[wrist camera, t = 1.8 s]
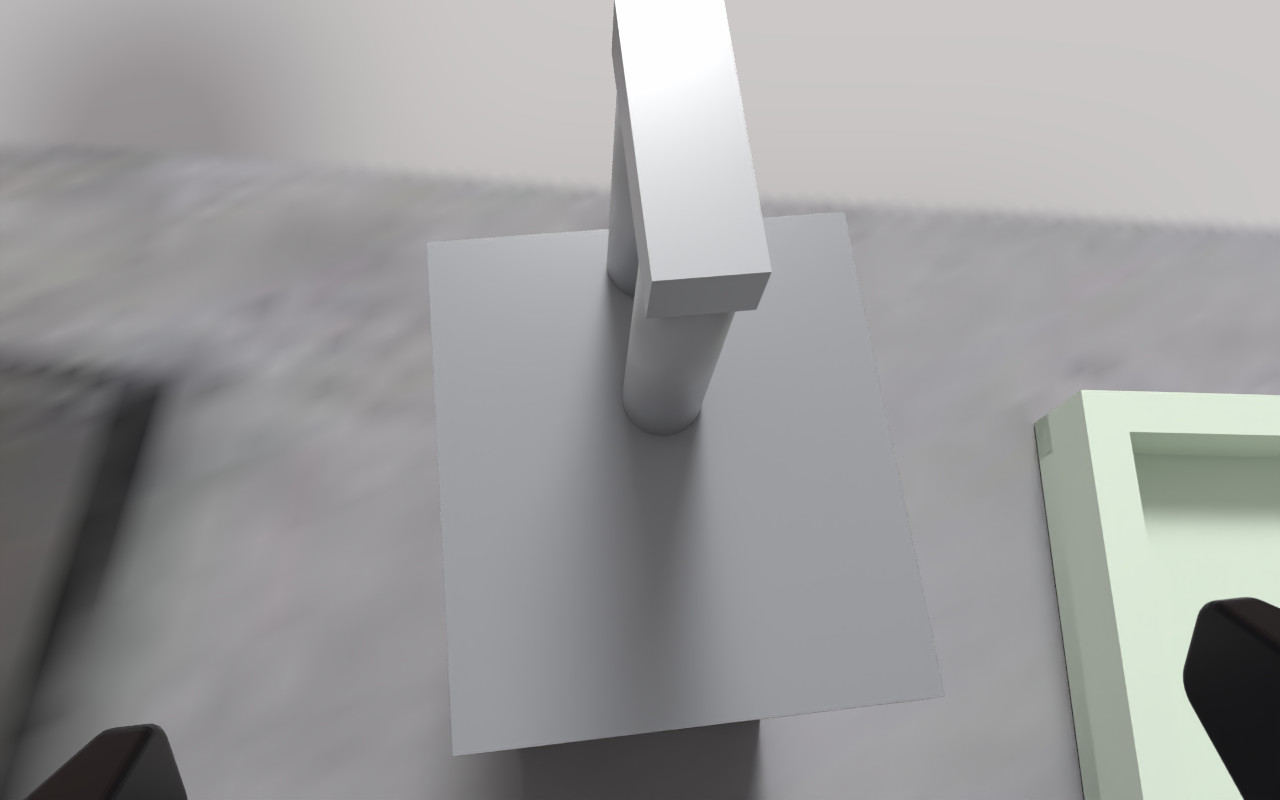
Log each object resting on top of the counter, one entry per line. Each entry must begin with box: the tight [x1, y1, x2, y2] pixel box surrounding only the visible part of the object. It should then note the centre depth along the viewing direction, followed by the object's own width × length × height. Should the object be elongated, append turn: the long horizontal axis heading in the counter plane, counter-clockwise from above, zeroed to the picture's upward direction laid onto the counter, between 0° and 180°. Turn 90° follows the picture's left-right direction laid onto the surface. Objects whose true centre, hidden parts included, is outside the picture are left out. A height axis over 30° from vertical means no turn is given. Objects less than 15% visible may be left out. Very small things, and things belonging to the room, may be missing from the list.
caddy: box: [427, 0, 945, 756], centre depth 13 cm, size 5×4×13 cm
